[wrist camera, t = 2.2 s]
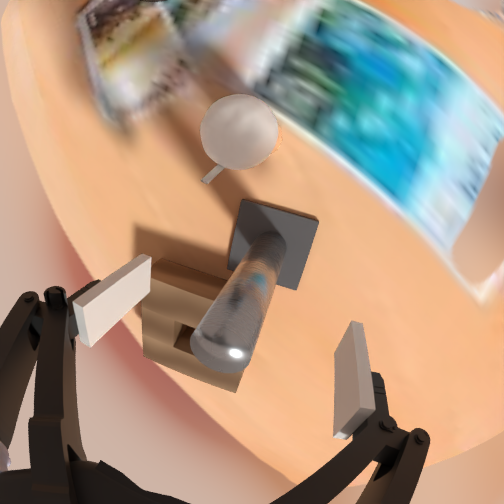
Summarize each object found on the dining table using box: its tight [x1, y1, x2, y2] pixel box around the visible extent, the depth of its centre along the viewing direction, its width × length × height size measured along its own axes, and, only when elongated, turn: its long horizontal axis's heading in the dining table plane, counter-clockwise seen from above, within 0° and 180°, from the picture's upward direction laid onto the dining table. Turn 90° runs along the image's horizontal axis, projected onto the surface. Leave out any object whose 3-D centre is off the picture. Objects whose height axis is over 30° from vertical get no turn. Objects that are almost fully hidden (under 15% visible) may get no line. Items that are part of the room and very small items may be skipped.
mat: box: [227, 199, 319, 290], centre depth 25 cm, size 7×7×1 cm
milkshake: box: [200, 94, 283, 184], centre depth 17 cm, size 4×5×10 cm
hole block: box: [141, 258, 244, 393], centre depth 28 cm, size 12×12×4 cm
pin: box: [190, 231, 287, 373], centre depth 18 cm, size 3×3×14 cm
